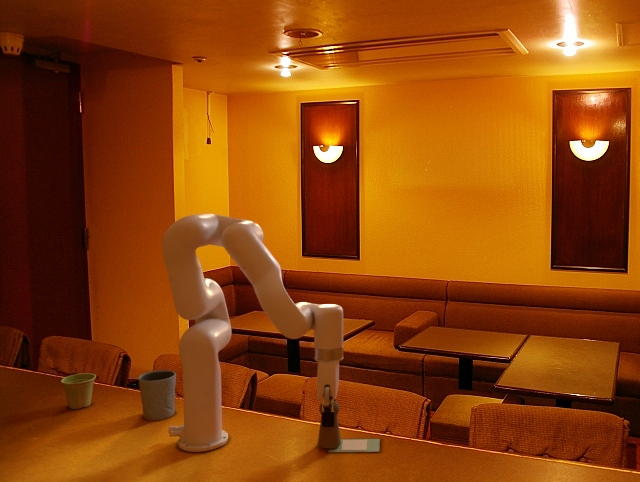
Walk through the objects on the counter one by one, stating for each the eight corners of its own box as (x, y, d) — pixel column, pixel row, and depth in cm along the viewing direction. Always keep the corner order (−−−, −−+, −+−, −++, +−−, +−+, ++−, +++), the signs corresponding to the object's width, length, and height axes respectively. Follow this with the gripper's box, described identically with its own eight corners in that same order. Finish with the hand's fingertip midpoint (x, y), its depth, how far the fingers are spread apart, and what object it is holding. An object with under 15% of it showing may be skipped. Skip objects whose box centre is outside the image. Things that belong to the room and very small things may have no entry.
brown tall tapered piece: (337, 449, 154) (336, 406, 153) (314, 447, 155) (314, 405, 154) (343, 439, 160) (343, 398, 159) (322, 437, 161) (321, 396, 160)
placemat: (328, 452, 154) (328, 451, 154) (330, 439, 161) (330, 438, 161) (379, 452, 154) (379, 451, 154) (379, 439, 161) (379, 438, 161)
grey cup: (183, 413, 180) (183, 373, 179) (154, 424, 171) (153, 383, 171) (162, 406, 185) (161, 367, 185) (132, 417, 177) (131, 376, 176)
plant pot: (86, 411, 181) (85, 383, 181) (55, 411, 181) (54, 383, 181) (102, 400, 190) (101, 373, 190) (72, 400, 191) (71, 373, 190)
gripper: (318, 344, 164) (318, 409, 165) (310, 362, 147) (310, 435, 148) (345, 344, 165) (346, 409, 166) (340, 362, 147) (341, 435, 148)
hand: (329, 421), depth 157 cm, fingers closed on brown tall tapered piece, 5 cm apart
